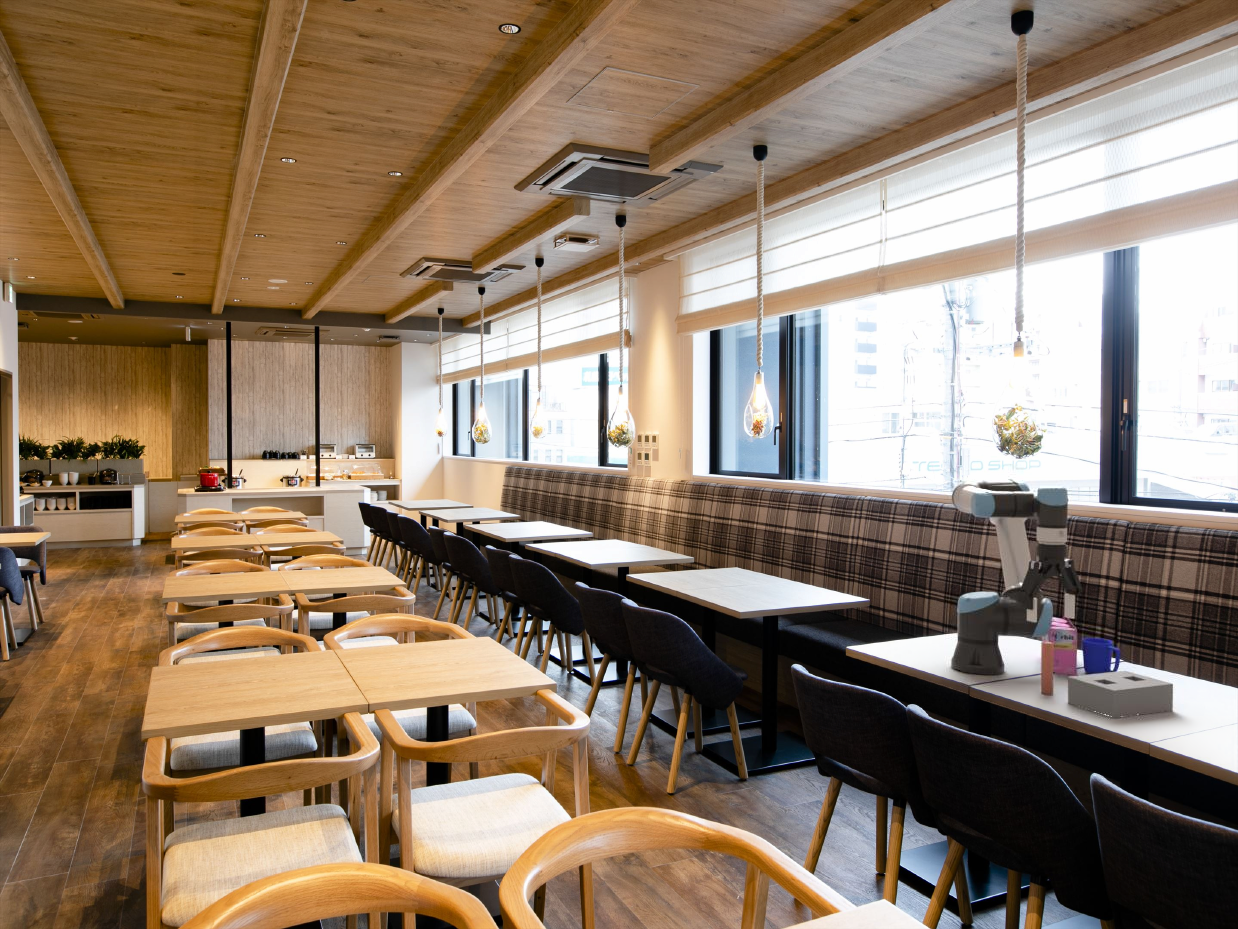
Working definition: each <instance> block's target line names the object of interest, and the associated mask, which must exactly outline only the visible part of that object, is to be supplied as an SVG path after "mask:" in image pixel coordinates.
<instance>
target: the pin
mask: <svg viewBox="0 0 1238 929" xmlns="http://www.w3.org/2000/svg"><path fill="white" fill-rule="evenodd" d="M1040 646H1041V650H1040V651H1041V652H1040V656H1041V658H1040V660H1041V663H1040V667H1041V668H1040V672H1041V673H1040V676H1041V677H1040V694H1042V693H1043V694H1042V695H1045V694H1046V695H1045V696H1053V695H1054V673H1053V648H1054V643H1051V642H1042V641H1041V645H1040ZM1047 694H1048V695H1047ZM1052 694H1053V695H1052Z"/></svg>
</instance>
